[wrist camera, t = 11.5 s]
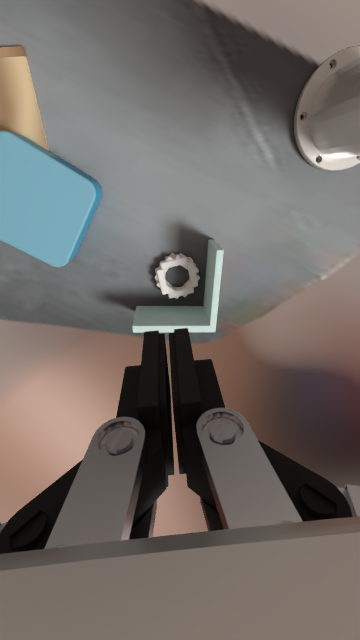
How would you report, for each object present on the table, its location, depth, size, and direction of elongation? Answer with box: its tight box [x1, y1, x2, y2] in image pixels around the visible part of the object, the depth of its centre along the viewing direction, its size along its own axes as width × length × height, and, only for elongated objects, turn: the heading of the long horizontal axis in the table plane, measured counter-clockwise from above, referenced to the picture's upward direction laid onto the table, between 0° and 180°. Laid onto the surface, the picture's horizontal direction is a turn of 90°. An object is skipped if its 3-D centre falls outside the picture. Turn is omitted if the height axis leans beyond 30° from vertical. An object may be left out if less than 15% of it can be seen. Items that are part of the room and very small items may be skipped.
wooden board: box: [0, 46, 49, 151], centre depth 35 cm, size 10×18×1 cm, turn 4°
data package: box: [0, 131, 102, 267], centre depth 35 cm, size 12×4×12 cm
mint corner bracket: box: [133, 239, 224, 332], centre depth 41 cm, size 12×12×8 cm
